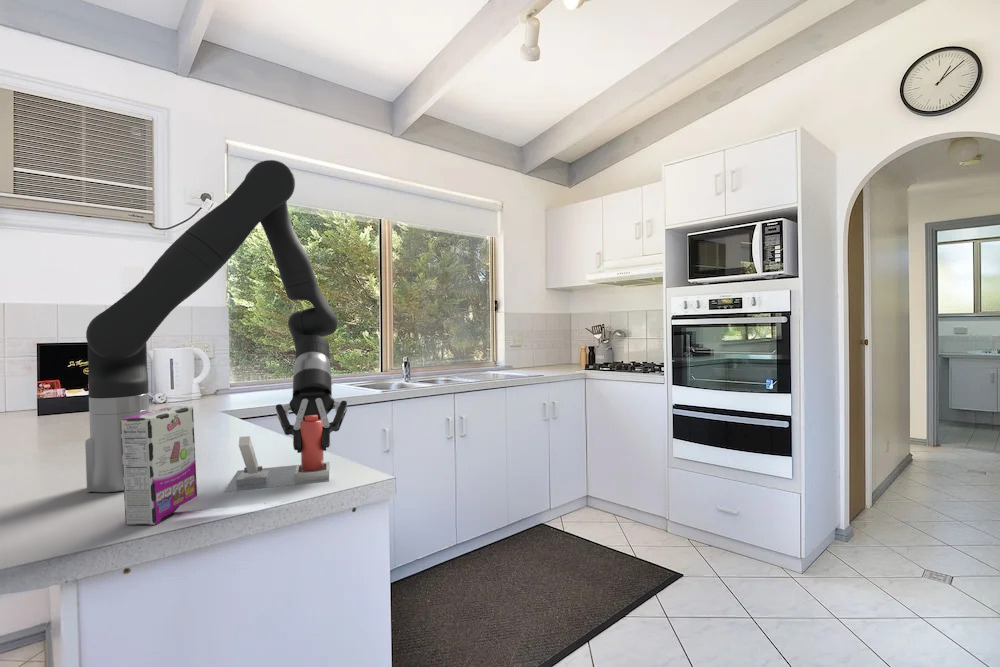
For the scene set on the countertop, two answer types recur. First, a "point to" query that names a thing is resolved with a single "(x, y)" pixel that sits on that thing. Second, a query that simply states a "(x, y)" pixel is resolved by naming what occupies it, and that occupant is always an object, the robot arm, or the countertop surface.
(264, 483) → the panel
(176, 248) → the robot arm
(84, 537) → the countertop surface
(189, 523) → the countertop surface
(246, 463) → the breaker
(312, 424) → the red cylindrical peg
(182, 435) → the candy bar box
